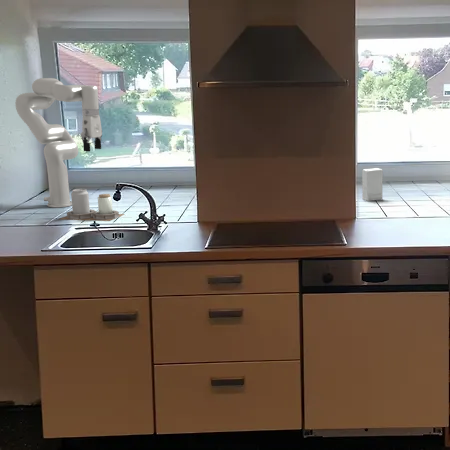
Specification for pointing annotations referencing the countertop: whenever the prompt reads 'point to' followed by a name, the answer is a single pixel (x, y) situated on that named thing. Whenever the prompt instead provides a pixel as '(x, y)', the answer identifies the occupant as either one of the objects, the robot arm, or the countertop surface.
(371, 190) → the skincare box
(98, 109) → the robot arm
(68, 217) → the stand
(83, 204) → the can
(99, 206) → the jar
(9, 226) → the countertop surface
